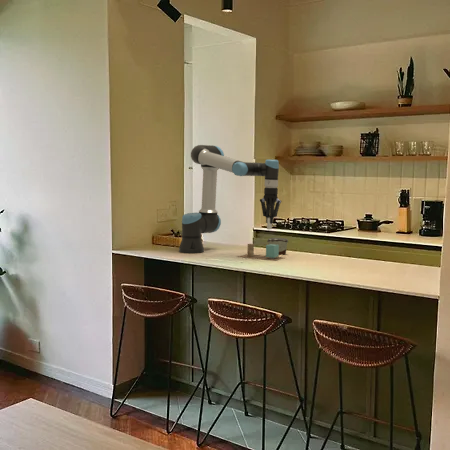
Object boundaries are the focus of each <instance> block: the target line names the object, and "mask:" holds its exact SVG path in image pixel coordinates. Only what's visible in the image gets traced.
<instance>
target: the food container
mask: <svg viewBox="0 0 450 450" xmlns="http://www.w3.org/2000/svg"><path fill="white" fill-rule="evenodd" d="M267 243H268V244H267V245H269V244H275V245H279V255H280V256H281V255H282V256H283V255H285V256H286V254H287V248H288V247H287V246H288V243H289V239H288V238H286V237H285V238H284V237H283V238H282V237H271V238H267Z"/></svg>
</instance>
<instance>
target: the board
mask: <svg viewBox="0 0 450 450" xmlns="http://www.w3.org/2000/svg"><path fill="white" fill-rule="evenodd" d="M236 258H242V259H243V258H244V259H252V260H262V261H272V262H276V261H281V260H284V259H286V257H282V256H278V257H275V259H269V257H266V255H263V254H254V256H252V257H250V256H247V254H242V255H239V256H236Z"/></svg>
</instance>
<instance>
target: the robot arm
mask: <svg viewBox="0 0 450 450" xmlns="http://www.w3.org/2000/svg"><path fill="white" fill-rule="evenodd" d="M190 158H191V160H192V162H193V163H195V164H196V165H200V168H201V170H202V171H203V172H202V189H201V190H202V193H201V209H200V210H198V212H189V213H188V212H187V213H185V214H183V215H182V217H181V219H182V220H181V242H180V244H179V247H178V252H179V253H184V254H200V253H204V252H205V247H204V244H203V241H202V234H212V233H215V232H217V231H218V230H219V229H220V227H221V224H222V220H221V218H220V215H219V214H218V210H217V209H216V203H217V202H216V200H217V199H216V197H217V182H218V181H217V180H218V179H217V177H218V170H219V169H220V170H223V171H226V172H228V173H229V172H230V173H233V175H235V176H239V177H248V176H249V177H264V190H263V193H264V194H263V197H262V198H260V199H259V202H260V205H261V210H262V216H263V217H265V223H266V230H272V229H273V224H274V218H276V217H278V216H277V215H278V214H279V209H280V205H281V204H282V200H280V199H279V197H278V194H279V190H278V189H279V188H278V187H279V169H280V167H279V165H280V164H279V160H278V159H265V161H264V162H256V161H255V162H248V161H247V162H246V161H241V160H237V159H236V158H230V157H227V156H225V154H224V151H223V150H222V148H221V147H220V146H218V145H207V144H198V145H195V146H193V148H192V149H191V152H190Z"/></svg>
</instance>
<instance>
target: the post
mask: <svg viewBox="0 0 450 450" xmlns="http://www.w3.org/2000/svg"><path fill="white" fill-rule="evenodd" d="M254 247H255V245H254V243H247V249H246V250H247V256H250V257H252V256H254V255H255V254H254V253H255V252H254V251H255V249H254Z"/></svg>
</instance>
